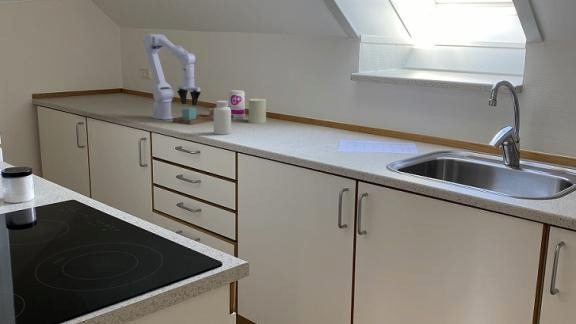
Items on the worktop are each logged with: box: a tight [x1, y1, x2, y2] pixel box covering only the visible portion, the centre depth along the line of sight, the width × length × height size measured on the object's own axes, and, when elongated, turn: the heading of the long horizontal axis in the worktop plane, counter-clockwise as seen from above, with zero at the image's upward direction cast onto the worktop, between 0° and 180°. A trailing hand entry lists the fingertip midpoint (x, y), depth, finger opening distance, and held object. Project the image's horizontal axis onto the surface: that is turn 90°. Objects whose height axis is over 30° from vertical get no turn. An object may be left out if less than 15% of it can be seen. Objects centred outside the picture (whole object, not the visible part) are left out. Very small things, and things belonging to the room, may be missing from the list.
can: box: [248, 98, 267, 124], centre depth 315 cm, size 9×9×12 cm
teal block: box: [181, 107, 197, 120], centre depth 312 cm, size 5×5×7 cm
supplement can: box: [228, 89, 246, 121], centre depth 323 cm, size 8×8×15 cm
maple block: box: [208, 107, 215, 116], centre depth 328 cm, size 5×5×7 cm
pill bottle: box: [213, 100, 232, 136], centre depth 280 cm, size 8×8×15 cm
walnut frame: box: [172, 113, 214, 126], centre depth 316 cm, size 13×20×2 cm, turn 143°
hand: (189, 104), depth 311 cm, fingers open, 7 cm apart
